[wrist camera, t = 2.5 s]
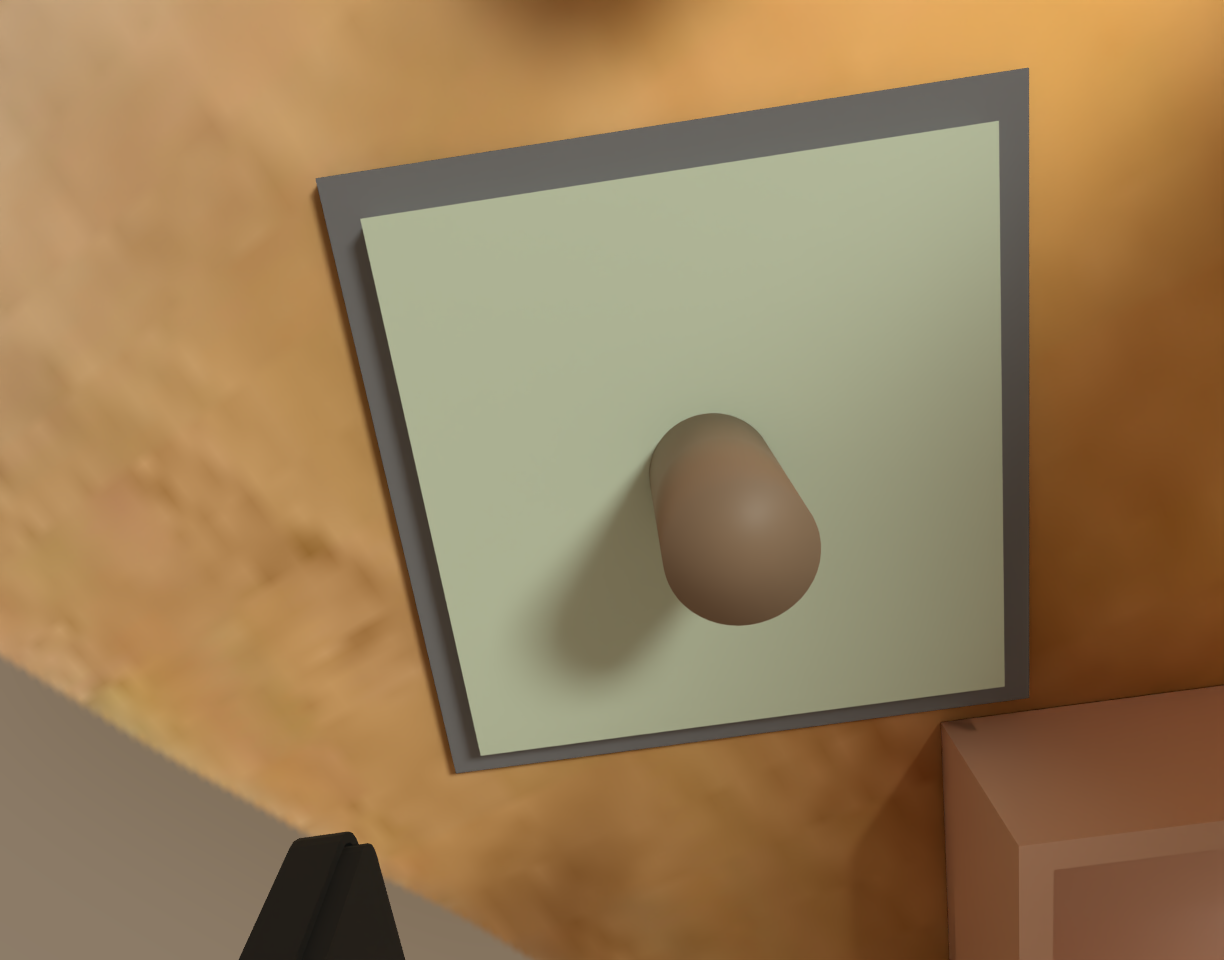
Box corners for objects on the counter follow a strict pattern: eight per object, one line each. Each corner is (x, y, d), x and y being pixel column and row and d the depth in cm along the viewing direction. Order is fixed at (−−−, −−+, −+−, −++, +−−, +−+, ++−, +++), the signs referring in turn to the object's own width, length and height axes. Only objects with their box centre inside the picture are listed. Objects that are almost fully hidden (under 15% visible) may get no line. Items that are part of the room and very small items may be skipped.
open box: (940, 722, 25) (1018, 846, 21) (1396, 662, 25) (1582, 775, 20) (952, 1053, 29) (1020, 1221, 25) (1346, 1006, 29) (1492, 1168, 24)
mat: (320, 178, 21) (315, 178, 20) (1021, 70, 20) (1029, 67, 20) (458, 764, 26) (455, 773, 25) (1022, 689, 25) (1028, 697, 25)
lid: (369, 217, 21) (284, 229, 15) (984, 123, 20) (1128, 100, 15) (484, 738, 25) (451, 895, 19) (992, 670, 24) (1105, 812, 19)
